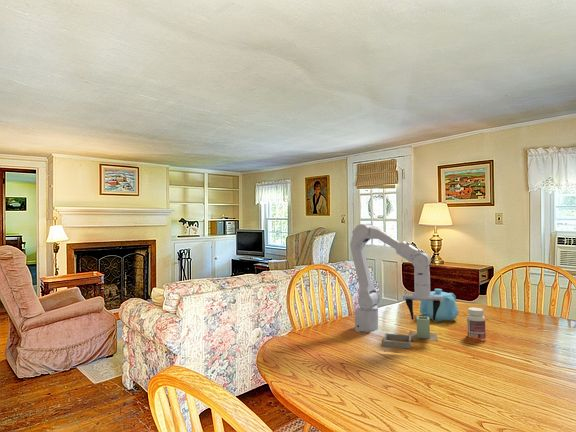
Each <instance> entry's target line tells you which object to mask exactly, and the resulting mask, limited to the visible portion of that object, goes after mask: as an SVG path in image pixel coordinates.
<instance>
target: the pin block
mask: <svg viewBox="0 0 576 432" xmlns="http://www.w3.org/2000/svg"><path fill="white" fill-rule="evenodd" d="M409 335H411V341H415V340H416V341H425V342H437V343H438V342H439V340H438V339H439V337H438V334H437V333H435V332H430V339H428V338H417V331H409Z"/></svg>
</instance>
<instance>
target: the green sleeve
mask: <svg viewBox="0 0 576 432" xmlns="http://www.w3.org/2000/svg"><path fill="white" fill-rule="evenodd" d="M430 320H431V319H430V318H429V317H425V316H423V315H421V316H419V315H417V316H416V332H417V338H428V339H430V333H431V331H430V329H431V328H430V326H431V323H430Z"/></svg>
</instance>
